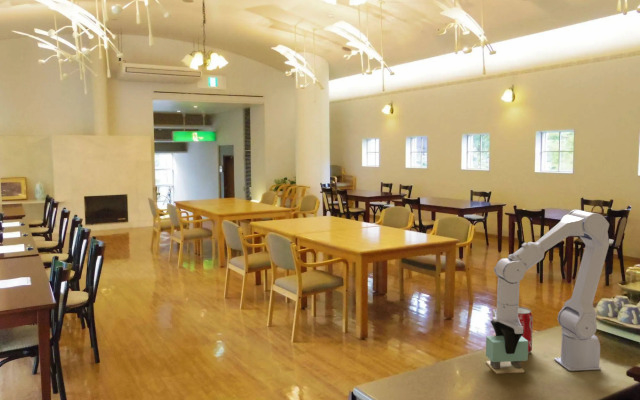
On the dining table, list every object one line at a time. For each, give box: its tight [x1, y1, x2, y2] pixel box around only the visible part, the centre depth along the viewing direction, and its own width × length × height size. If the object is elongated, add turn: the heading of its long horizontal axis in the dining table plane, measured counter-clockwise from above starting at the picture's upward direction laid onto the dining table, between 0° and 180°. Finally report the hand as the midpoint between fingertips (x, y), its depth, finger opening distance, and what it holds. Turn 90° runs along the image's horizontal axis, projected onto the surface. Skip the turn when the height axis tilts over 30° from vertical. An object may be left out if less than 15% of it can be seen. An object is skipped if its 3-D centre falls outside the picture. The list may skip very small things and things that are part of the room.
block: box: [485, 335, 529, 362], centre depth 144 cm, size 10×5×6 cm, turn 96°
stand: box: [485, 359, 525, 375], centre depth 145 cm, size 8×7×3 cm
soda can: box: [518, 306, 534, 355], centre depth 156 cm, size 7×7×13 cm
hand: (505, 349), depth 144 cm, fingers closed on block, 4 cm apart
